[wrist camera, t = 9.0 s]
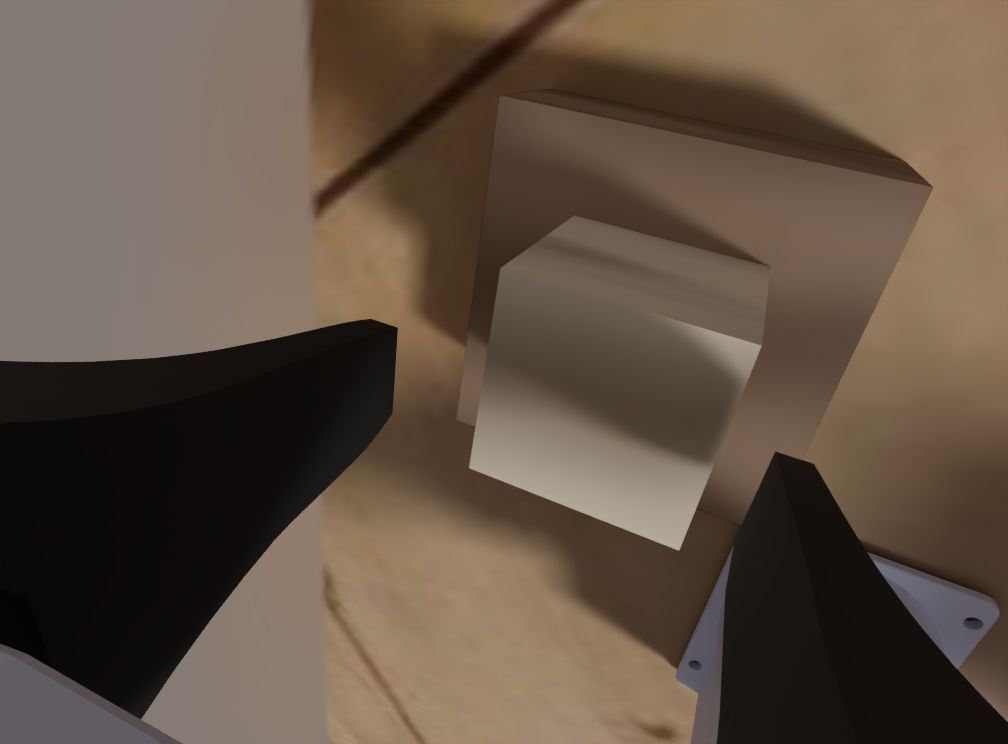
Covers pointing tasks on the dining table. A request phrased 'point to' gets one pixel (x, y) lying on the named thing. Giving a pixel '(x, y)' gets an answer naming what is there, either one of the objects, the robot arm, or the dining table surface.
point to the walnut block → (709, 244)
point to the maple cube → (617, 372)
